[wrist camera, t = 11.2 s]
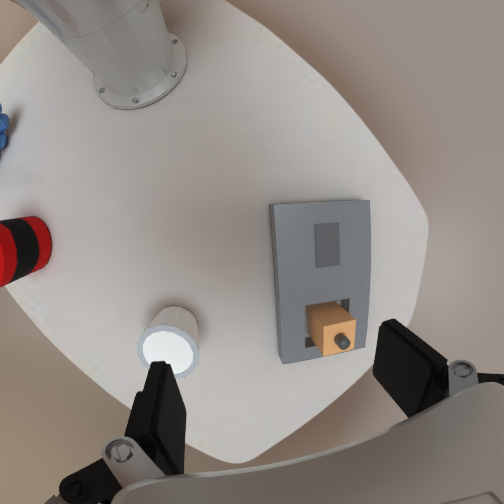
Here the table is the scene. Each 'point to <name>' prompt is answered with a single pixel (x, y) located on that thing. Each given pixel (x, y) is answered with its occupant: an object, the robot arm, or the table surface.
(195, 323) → the white short cylinder
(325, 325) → the block
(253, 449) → the table surface
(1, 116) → the grapes
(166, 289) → the table surface
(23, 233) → the soda can
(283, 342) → the socket plate
